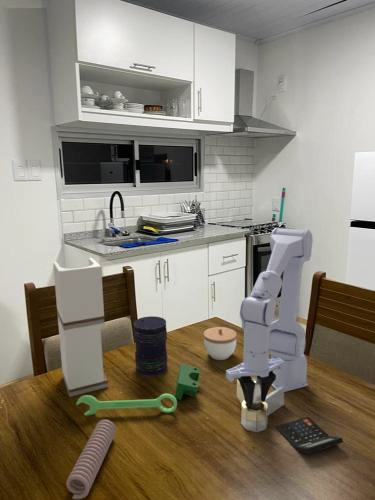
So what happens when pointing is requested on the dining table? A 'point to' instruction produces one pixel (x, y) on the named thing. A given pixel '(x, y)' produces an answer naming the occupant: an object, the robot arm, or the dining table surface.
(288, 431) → the calculator
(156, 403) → the wrench
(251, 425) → the tan ring with arms
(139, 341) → the storage jar
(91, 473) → the coil
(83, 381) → the grey boxy piece
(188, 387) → the clamp
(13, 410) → the dining table surface
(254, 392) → the hinge pin
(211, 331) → the lidded jar
